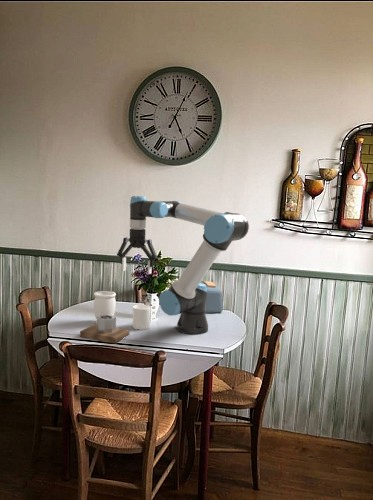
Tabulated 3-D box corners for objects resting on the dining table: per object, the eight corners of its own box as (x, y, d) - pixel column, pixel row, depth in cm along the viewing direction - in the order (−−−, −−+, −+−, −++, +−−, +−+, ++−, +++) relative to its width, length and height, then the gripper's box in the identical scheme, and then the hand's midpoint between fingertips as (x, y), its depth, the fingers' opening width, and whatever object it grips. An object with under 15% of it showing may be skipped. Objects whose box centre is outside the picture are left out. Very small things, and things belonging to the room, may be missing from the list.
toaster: (187, 306, 264) (188, 278, 262) (214, 305, 268) (215, 278, 266) (195, 314, 248) (196, 285, 246) (223, 313, 253) (225, 285, 250)
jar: (110, 327, 219) (111, 296, 217) (90, 325, 221) (90, 294, 219) (118, 321, 230) (119, 291, 227) (98, 318, 232) (99, 289, 229)
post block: (129, 335, 209) (129, 317, 208) (115, 343, 198) (116, 324, 197) (94, 329, 216) (95, 311, 215) (80, 336, 205) (80, 318, 203)
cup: (130, 329, 219) (130, 308, 217) (137, 321, 230) (138, 302, 229) (147, 330, 217) (147, 310, 216) (153, 323, 229) (154, 303, 227)
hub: (118, 329, 210) (118, 316, 209) (109, 334, 203) (109, 320, 202) (103, 326, 213) (103, 313, 212) (93, 331, 205) (94, 318, 204)
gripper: (164, 229, 220) (163, 273, 223) (117, 226, 228) (116, 268, 231) (159, 230, 213) (157, 276, 216) (110, 227, 221) (109, 271, 224)
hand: (136, 272), depth 224 cm, fingers open, 13 cm apart
